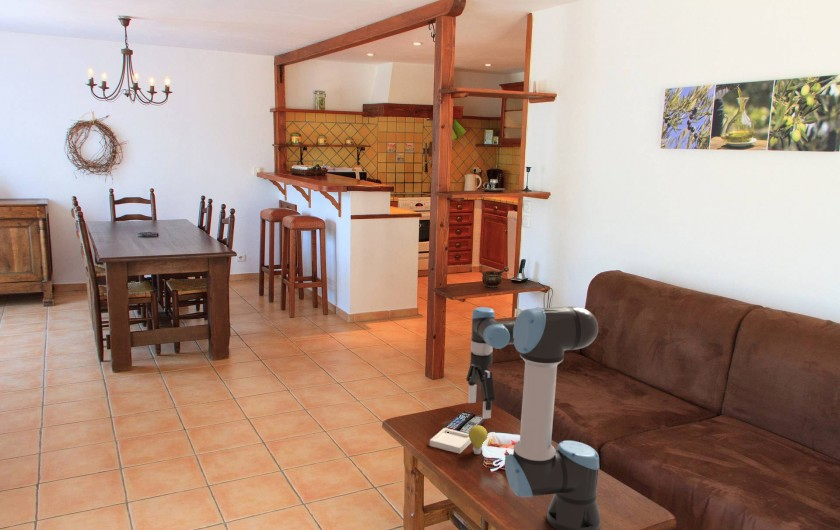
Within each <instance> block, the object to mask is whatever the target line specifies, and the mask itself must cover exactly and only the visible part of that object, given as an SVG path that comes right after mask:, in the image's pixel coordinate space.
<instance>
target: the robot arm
mask: <svg viewBox="0 0 840 530" xmlns="http://www.w3.org/2000/svg"><path fill="white" fill-rule="evenodd" d="M471 316H472V317H471V338H470V359H469V360H470V365H469V368H468V372H467V375H466V379H465V380H466V382H467V384H468V393H467V394H468V395H467V397H468V398H467V400H468V401H467V402H468V404H474V403H476V402H477V401H476V400H477V390H478V389H477V387H478V381H479V383H480V386H481V389H482V394H483V398H484V399H483V400H482V402H483V403H482V419H483V420H484V419H491V417H492V402H495V401H496V399H495V390H494V383H493V371H491V370H490V371H489V366H491V365H492V364H493V352H494V351H493V349H498V350H499V349H503V348H505V347H506V346H507V345H514V348H515V350H516V351H517V352H519V357H520V358H521V359H522V360H523V361H524V372H523V373H524V375H523V387H522V388H523V390H522V402H521V405H522V406H521V416H520V430H519V431H520V433H519V440H518V441H517V442H515V443H514V446H513V452H512V453H510V454H508V455H506V456H505V458H504V459H505V460H504V469H505V470H504V471H505V475H506V479H507V482H508V484H509V487H510V489H511V491H512V493H514V495H515V496H517V497H518V498H533V497H537V496H546V495H553V496H552V499H551V501H550V504H549V505H548V508H547V515H546V519H547V522H548V523H549V525H550V526H551V527H552V528H553V529H555V530H600V528H601V524H602V523H601V521H602V519H601V518H602V517H601V513H600V509H599V505H598V502H597V494H598V493H597V492H598V479H599V471H600V457H599V453H598V452H597V451H596V449H594V448H593V447H592V446H590V445H588V444H586V443H583V442H581V441H580V442H579V441H576V440H563V441H560V442H559V443H558V445H557V449H556V448H555V447H554V446H553V445H552V434H553V421H554V408H555V396H556V386H557V385H556V384H557V374H558V373H557V372H558V365H559V364H560V363H562V362H563V361H564V358H565V357H564V356H565V355H564V354H565V351H573V350H580V349H584V348H586V347H589V345H591V344H592V343H593V342H594V341H595V340H596V339H597V336H598V333H599V323H598V320H597V318H596V316H595V315H594V314H593V313H592V312H591V311H589V310H588V309H586V308H583V307H580V306H561V307H560V306H557V307H539V306H537V307H535V308H526V309H523V310H521V311H520V313H518V315H517V317H516V319H515V320H508V321H497V320H495V318H496V316H495V310H494V309H493V308H491V307H486V306H485V307H483V306H481V307H475V308H474V309H473V310H472V315H471Z"/></svg>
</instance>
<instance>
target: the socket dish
mask: <svg viewBox="0 0 840 530" xmlns="http://www.w3.org/2000/svg"><path fill="white" fill-rule="evenodd" d="M447 432H449V433H447ZM471 444H472V442H471V440H470V438H469V433H467V432H462V431H459V430H455V429H451V428H447V427H443V428H442V429H441V430H440V431H439V432H438V433H436V434H435V435H434V436H433V437H431V438H430V439H429V446H430V447H433V448H437V449H440V450H444V451H448V452H452V453H455V454H461V453H462V452H463V451H464V450H465V449H466V448H467V447H468V446H470V445H471Z"/></svg>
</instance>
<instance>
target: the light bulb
mask: <svg viewBox="0 0 840 530" xmlns="http://www.w3.org/2000/svg"><path fill="white" fill-rule="evenodd" d="M468 434H469V438H470V440H471V444H472V445H473V446H472V450H473V453H474V454H475V455H480V454H481V453H482V451H483V447H482V446H483V445H484V444H483V442H484V441H485V440H487V439H488V437H487V436H489V435H488V431H487V429H486V428H485V427H484V426H482V425H474V426H472V427H471V428H470V430H469V431H468ZM485 442H486V441H485ZM482 444H483V445H482Z"/></svg>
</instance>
